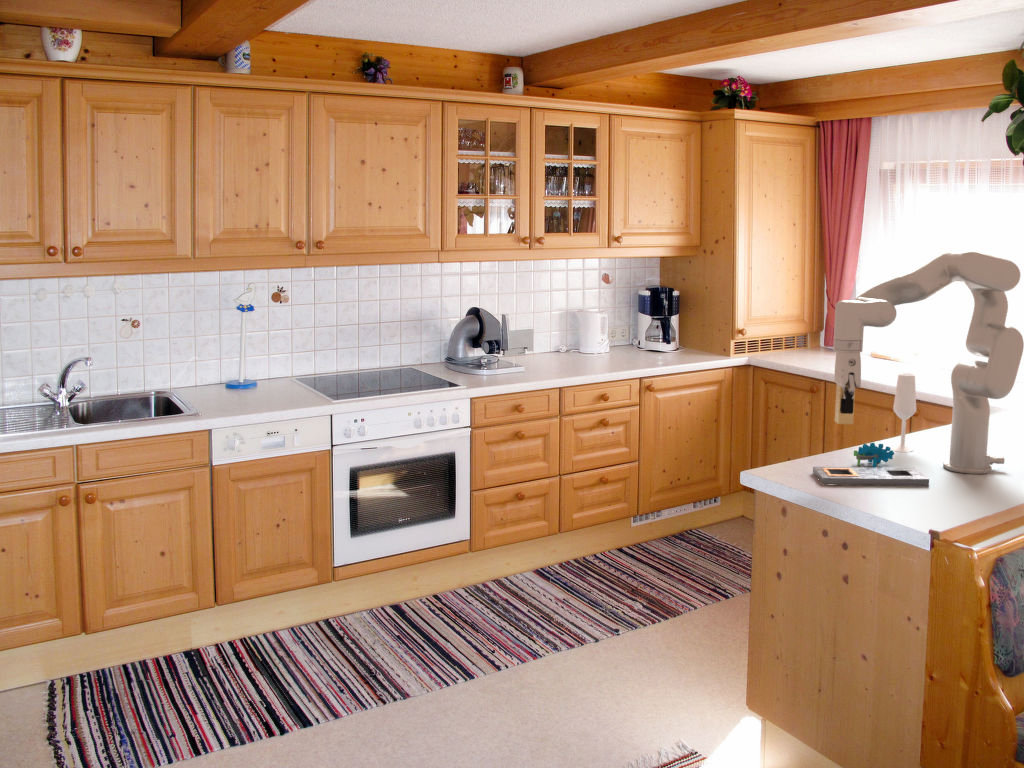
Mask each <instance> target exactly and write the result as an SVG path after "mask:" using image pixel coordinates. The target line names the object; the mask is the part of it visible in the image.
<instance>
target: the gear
mask: <svg viewBox="0 0 1024 768" xmlns="http://www.w3.org/2000/svg"><path fill="white" fill-rule="evenodd" d="M894 452H895V451H893V450H891V446H887V445H886V446H885V449H884V444H883V443H878V446H876V443H875V442H870V443H869V445H868V444H867V443H863V445H862V446H859V447H858V450H853V456H854V457H856V458H855V459H856V460H857V463H856V465H857V466H856V467H861V461H867V463H872V467H877V464H881V463H882V462H884V463H888V462H889V460H893V459H894V458H893V457H894V455H895V453H894Z"/></svg>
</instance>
